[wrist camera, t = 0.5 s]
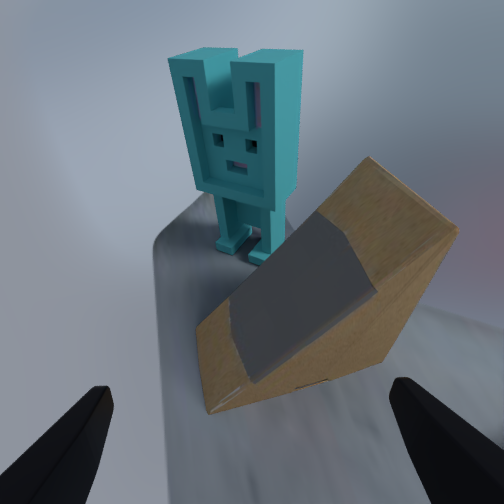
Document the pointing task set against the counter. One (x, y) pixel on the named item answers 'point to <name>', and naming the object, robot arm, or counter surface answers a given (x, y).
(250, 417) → the counter surface
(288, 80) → the toy
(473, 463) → the robot arm
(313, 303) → the sandwich container
